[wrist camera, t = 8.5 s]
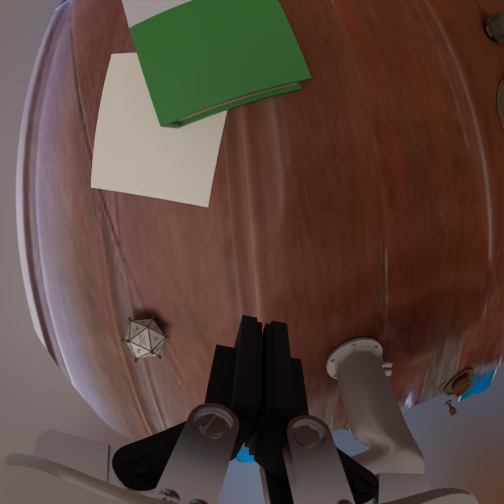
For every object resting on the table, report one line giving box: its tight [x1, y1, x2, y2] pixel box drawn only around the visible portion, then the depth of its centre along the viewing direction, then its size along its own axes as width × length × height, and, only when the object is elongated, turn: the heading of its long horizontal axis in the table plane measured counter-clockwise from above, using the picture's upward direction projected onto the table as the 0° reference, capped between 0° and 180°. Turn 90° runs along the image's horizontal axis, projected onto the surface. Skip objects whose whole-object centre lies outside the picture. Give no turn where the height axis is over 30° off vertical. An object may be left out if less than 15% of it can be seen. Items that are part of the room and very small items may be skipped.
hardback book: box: [122, 0, 311, 129], centre depth 25 cm, size 18×7×24 cm
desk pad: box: [91, 53, 228, 207], centre depth 34 cm, size 20×22×1 cm
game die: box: [121, 315, 170, 362], centre depth 45 cm, size 9×8×10 cm
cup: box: [485, 11, 504, 44], centre depth 18 cm, size 8×7×8 cm
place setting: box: [438, 368, 474, 416], centre depth 59 cm, size 18×20×6 cm
